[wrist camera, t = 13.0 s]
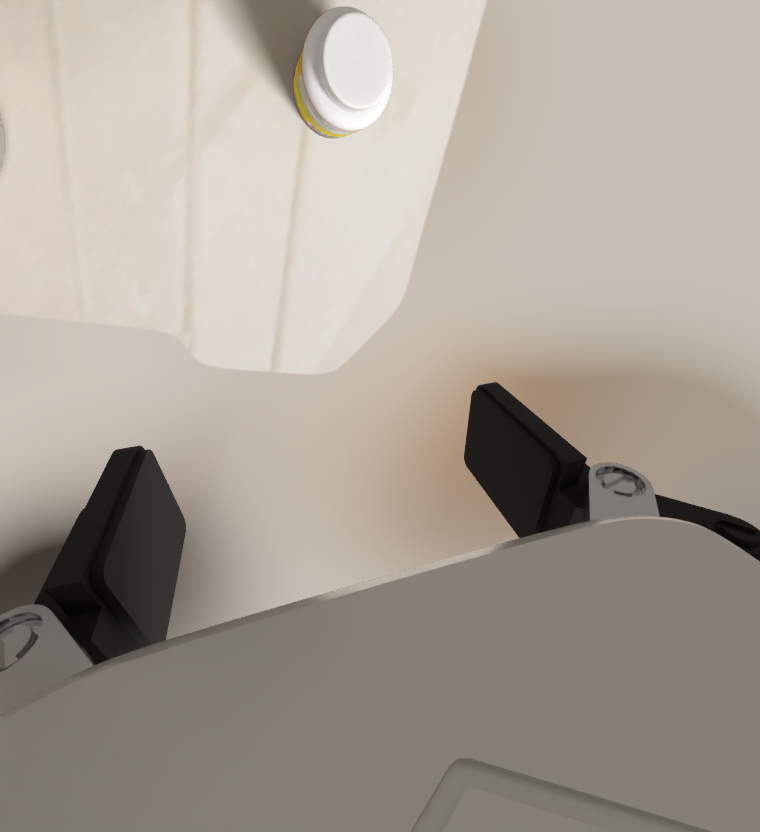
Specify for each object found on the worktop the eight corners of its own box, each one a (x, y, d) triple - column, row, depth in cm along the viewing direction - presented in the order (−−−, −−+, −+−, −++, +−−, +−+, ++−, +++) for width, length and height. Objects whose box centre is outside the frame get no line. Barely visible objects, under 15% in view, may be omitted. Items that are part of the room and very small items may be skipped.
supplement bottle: (347, 31, 27) (389, -31, 19) (372, 123, 30) (418, 104, 22) (277, 61, 27) (288, 12, 19) (310, 150, 30) (333, 142, 22)
